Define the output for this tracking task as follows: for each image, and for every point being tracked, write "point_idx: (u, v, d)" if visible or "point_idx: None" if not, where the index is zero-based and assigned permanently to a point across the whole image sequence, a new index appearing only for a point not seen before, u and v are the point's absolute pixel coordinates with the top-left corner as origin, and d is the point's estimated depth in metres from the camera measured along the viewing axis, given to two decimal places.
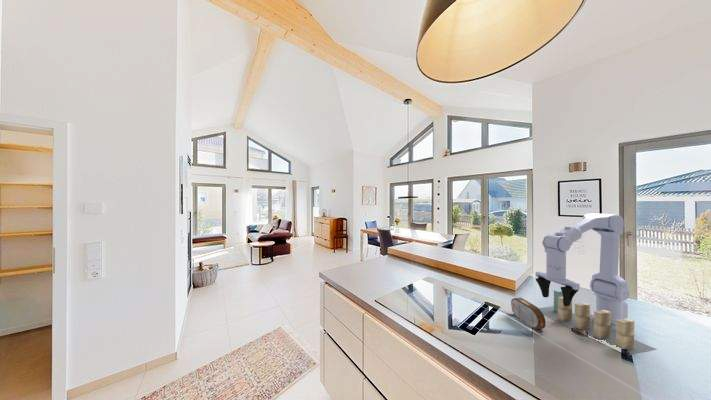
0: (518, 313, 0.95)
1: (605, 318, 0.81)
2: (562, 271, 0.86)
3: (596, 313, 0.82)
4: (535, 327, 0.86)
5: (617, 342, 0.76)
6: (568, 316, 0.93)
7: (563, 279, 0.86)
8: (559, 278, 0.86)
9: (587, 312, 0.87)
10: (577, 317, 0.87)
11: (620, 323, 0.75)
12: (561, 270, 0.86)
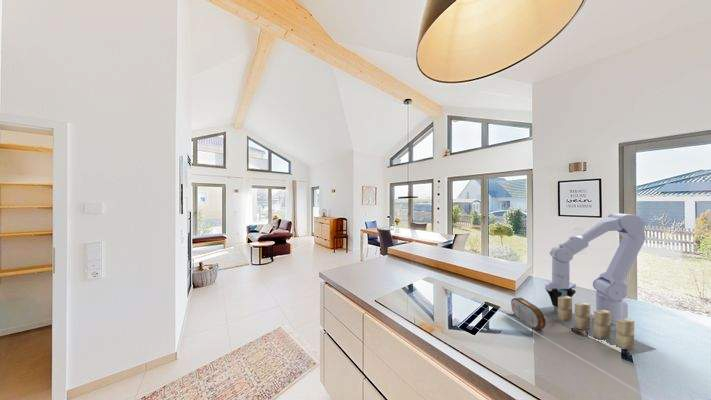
0: (518, 313, 0.95)
1: (605, 318, 0.81)
2: (554, 276, 1.01)
3: (596, 313, 0.82)
4: (535, 327, 0.86)
5: (617, 342, 0.76)
6: (568, 316, 0.93)
7: (554, 284, 1.00)
8: (552, 282, 1.02)
9: (587, 312, 0.87)
10: (577, 317, 0.87)
11: (620, 323, 0.75)
12: (553, 276, 1.01)
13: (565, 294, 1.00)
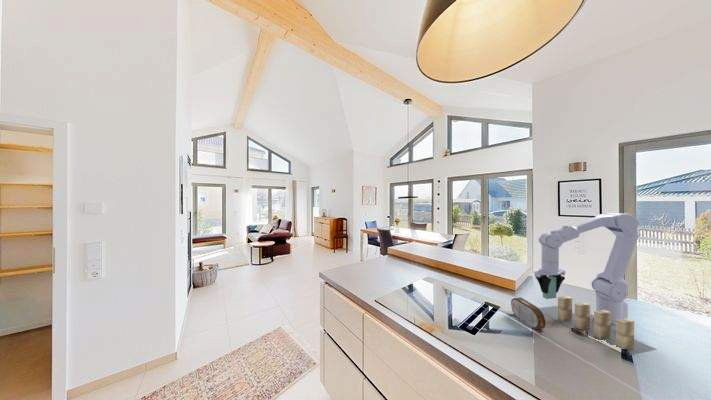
0: (518, 313, 0.95)
1: (605, 318, 0.81)
2: (543, 263, 0.99)
3: (596, 313, 0.82)
4: (535, 327, 0.86)
5: (617, 342, 0.76)
6: (568, 316, 0.93)
7: (543, 270, 0.99)
8: (541, 269, 1.00)
9: (587, 312, 0.87)
10: (577, 317, 0.87)
11: (620, 323, 0.75)
12: (542, 262, 1.00)
13: (554, 281, 0.99)
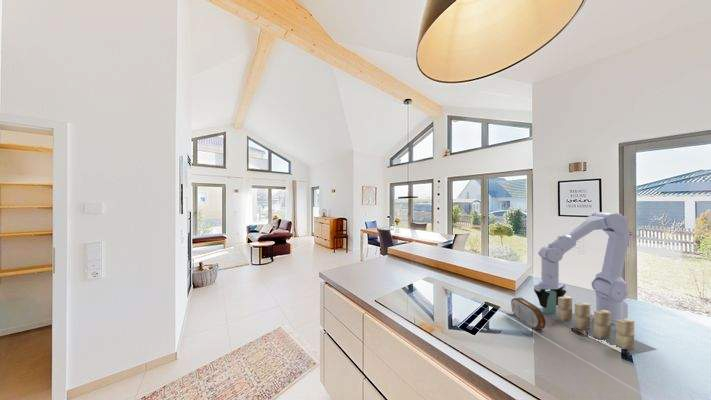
0: (518, 313, 0.95)
1: (605, 318, 0.81)
2: (543, 277, 0.99)
3: (596, 313, 0.82)
4: (535, 327, 0.86)
5: (617, 342, 0.76)
6: (568, 316, 0.93)
7: (543, 284, 0.99)
8: (541, 282, 1.00)
9: (587, 312, 0.87)
10: (577, 317, 0.87)
11: (620, 323, 0.75)
12: (542, 276, 1.00)
13: (554, 295, 0.99)
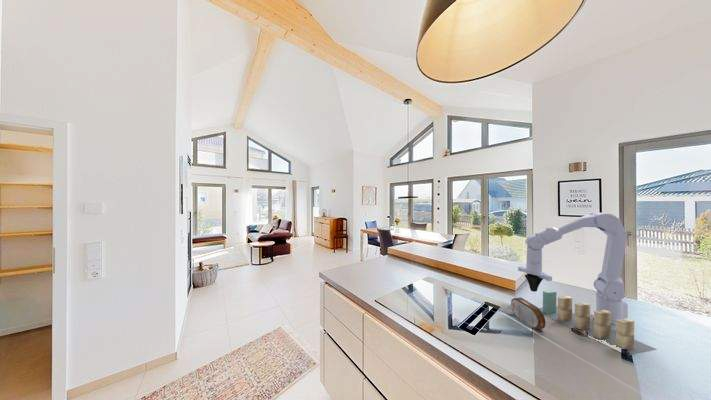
0: (518, 313, 0.95)
1: (605, 318, 0.81)
2: (538, 265, 1.03)
3: (596, 313, 0.82)
4: (535, 327, 0.86)
5: (617, 342, 0.76)
6: (568, 316, 0.93)
7: (539, 272, 1.03)
8: (536, 271, 1.04)
9: (587, 312, 0.87)
10: (577, 317, 0.87)
11: (620, 323, 0.75)
12: (538, 265, 1.03)
13: (554, 295, 0.99)
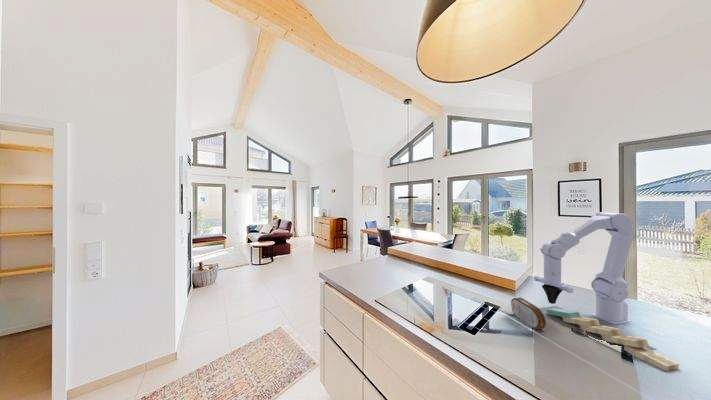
0: (518, 313, 0.95)
1: None
2: (557, 276, 0.96)
3: (634, 343, 0.72)
4: (535, 327, 0.86)
5: (631, 349, 0.73)
6: None
7: (559, 283, 0.96)
8: (555, 282, 0.96)
9: None
10: (593, 330, 0.82)
11: (663, 368, 0.66)
12: (557, 275, 0.96)
13: None
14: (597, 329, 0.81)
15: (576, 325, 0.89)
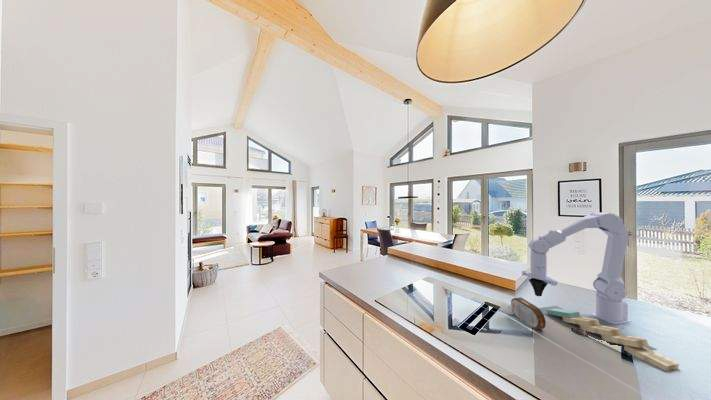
0: (518, 313, 0.95)
1: None
2: (543, 270, 1.02)
3: (634, 343, 0.72)
4: (535, 327, 0.86)
5: (631, 349, 0.73)
6: None
7: (544, 277, 1.01)
8: (541, 276, 1.02)
9: None
10: (593, 330, 0.82)
11: (663, 368, 0.66)
12: (542, 269, 1.01)
13: None
14: (597, 329, 0.81)
15: (576, 325, 0.89)
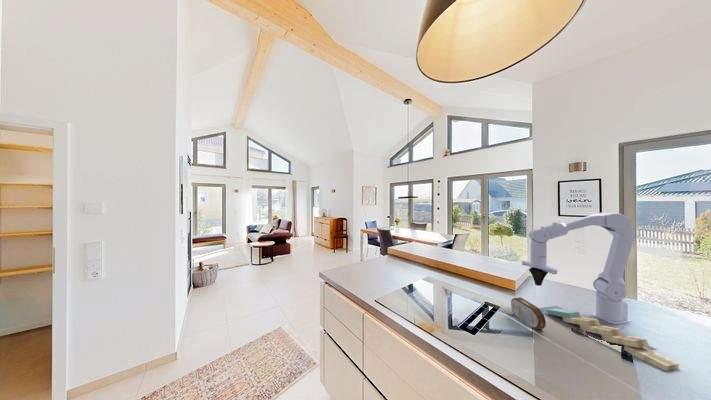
0: (518, 313, 0.95)
1: None
2: (543, 259, 1.01)
3: (634, 343, 0.72)
4: (535, 327, 0.86)
5: (631, 349, 0.73)
6: None
7: (544, 266, 1.01)
8: (541, 265, 1.02)
9: None
10: (593, 330, 0.82)
11: (663, 368, 0.66)
12: (542, 258, 1.01)
13: None
14: (597, 329, 0.81)
15: (576, 325, 0.89)
